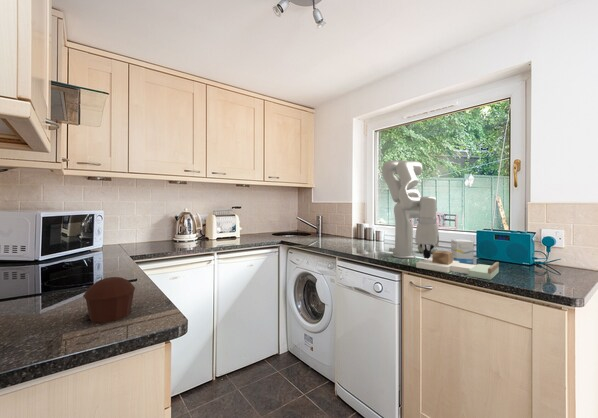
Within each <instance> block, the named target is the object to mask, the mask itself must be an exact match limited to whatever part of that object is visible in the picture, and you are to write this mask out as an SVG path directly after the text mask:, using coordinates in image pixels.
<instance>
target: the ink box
mask: <svg viewBox="0 0 598 418" xmlns="http://www.w3.org/2000/svg"><path fill="white" fill-rule="evenodd" d="M474 245H475V242H474V241H473V240H469V239H459V238H456V239H451V240H450V252H453V261H459V263H464V264H471V265H474V258H475V256H474V253H475V252H474V250H475V248H474Z"/></svg>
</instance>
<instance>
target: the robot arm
mask: <svg viewBox="0 0 598 418" xmlns="http://www.w3.org/2000/svg"><path fill="white" fill-rule="evenodd" d="M381 167H382V168H381V173H382V177H383V180H384V181H385V183H386V185H387V187H388V190H389V193H390V196H391V198H392V201H393V202H394V203H395V205H394V206H393V215H394V222H395V224H394V225H395V226H394V230H395V231H394V247H389V248H388V252H392V254H391V256H392V257H395V258H397V259H398V258H399V259H414V258H416V255H415V254H413V238H414V237H415V239H414V240H415V245H416V246H417V247H418V246H420V247H421V248H422V249H423V253H422V254H423V255H422V256H423V258H424V259H426V258H427V259H428V258H430V257H431V256H432V253H431V250H432V249H433V248H439V247H440V245H439V242H440V233H439V232H440V231H439V227H438V224H437V198H436V197H435V196H421V193H420V191H419V189H417V188H416V186H417V185H418V184H419V178H418V176H420V175H421V174H422V173H423V169H424V168H423V165H422V162H420V161H418V160H397V159H396V160H395V159H394V160H387V161H385V162H384V163H383V164H382V166H381ZM411 219H416V222H418V223H417V225H416V231H415V236H413V235H414V227H413V223H412V221H411ZM426 244H427V245H428V248H427V246H426Z"/></svg>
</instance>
